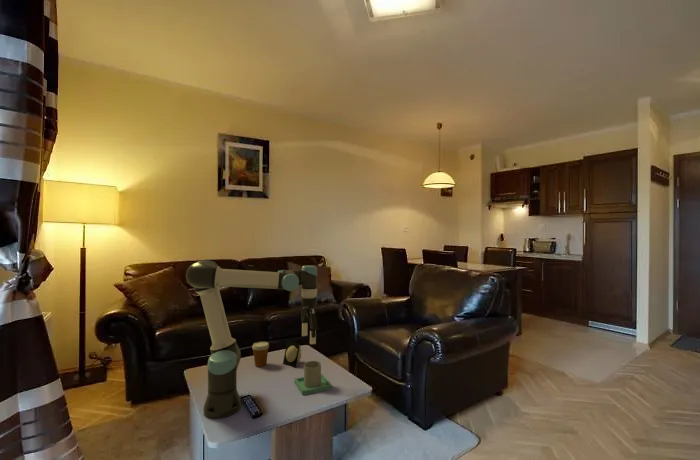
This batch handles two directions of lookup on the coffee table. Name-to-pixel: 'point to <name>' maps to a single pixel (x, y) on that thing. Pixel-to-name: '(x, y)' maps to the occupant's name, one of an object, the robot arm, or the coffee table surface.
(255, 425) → the coffee table surface
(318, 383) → the cup
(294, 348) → the decorative object
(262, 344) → the disposable coffee cup
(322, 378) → the tray
